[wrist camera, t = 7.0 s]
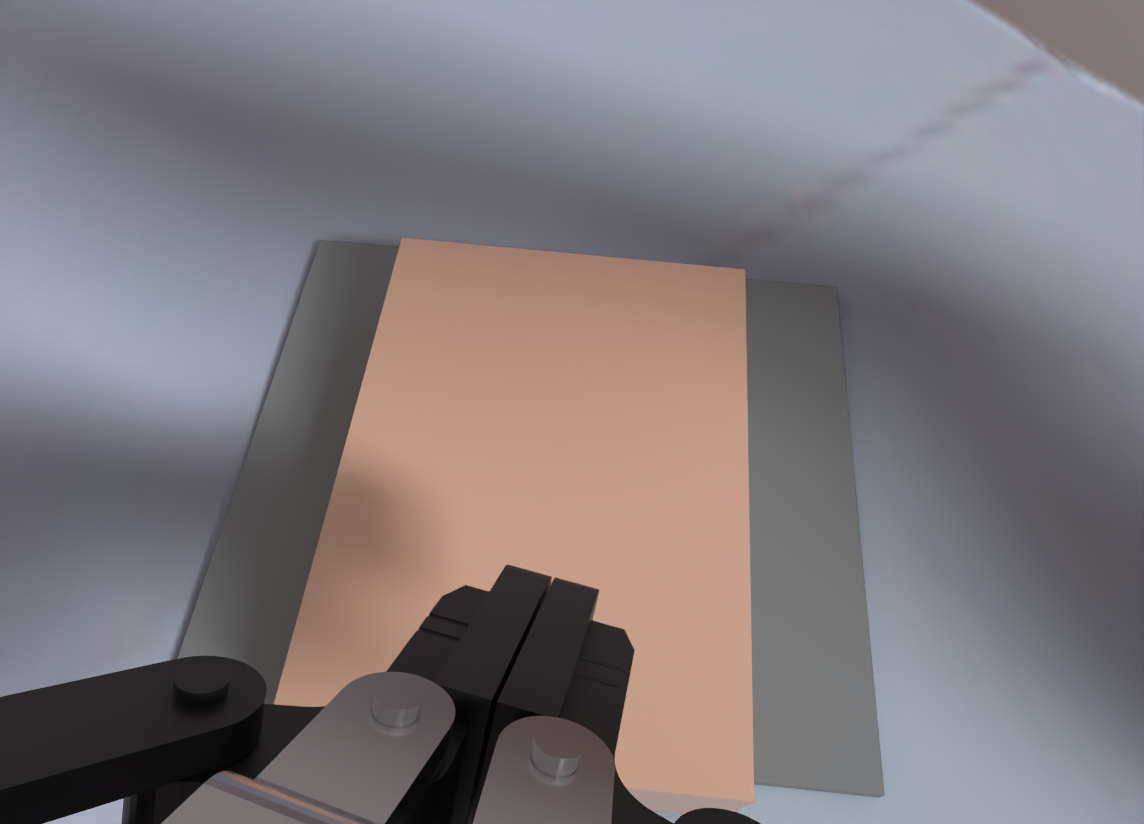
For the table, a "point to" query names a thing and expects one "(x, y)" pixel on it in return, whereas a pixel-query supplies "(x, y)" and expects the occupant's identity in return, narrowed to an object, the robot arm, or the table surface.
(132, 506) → the table surface
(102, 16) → the table surface
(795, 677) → the mat
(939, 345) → the table surface
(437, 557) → the peach rectangular block
